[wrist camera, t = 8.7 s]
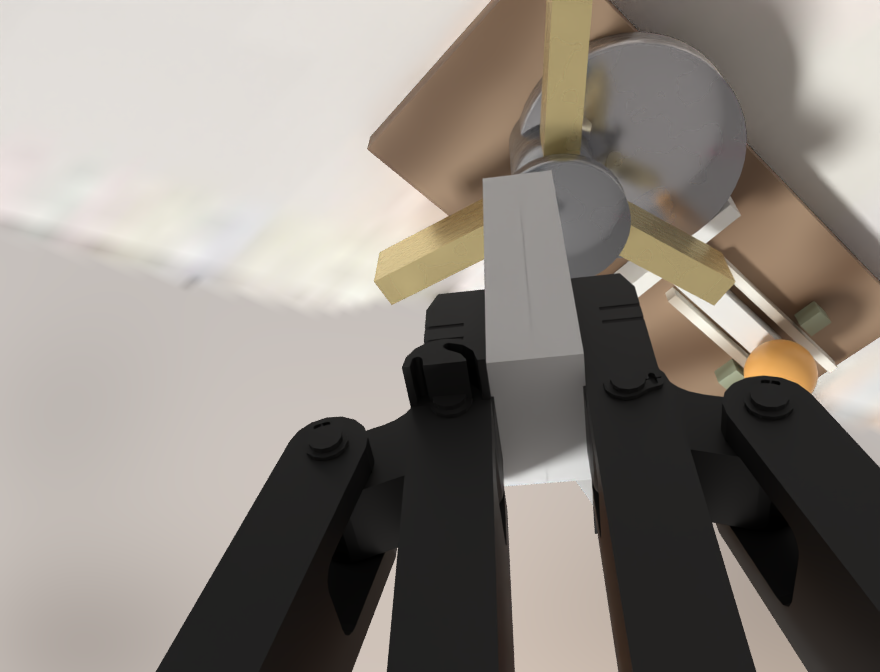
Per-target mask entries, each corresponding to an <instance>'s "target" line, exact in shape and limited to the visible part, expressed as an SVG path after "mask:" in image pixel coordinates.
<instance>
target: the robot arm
mask: <svg viewBox="0 0 880 672" xmlns="http://www.w3.org/2000/svg"><path fill="white" fill-rule="evenodd" d="M483 223H484V276H485V289H484V290H475V291H465V292H456V293H447V294H438V295H437V297H436V298H435V299H434V301H433V302H432V303H431V305H430V306H429V308H428V309H427V310H426V322H425V334H424V345H422V346H420V347H418V348H416V349H414V350H413V351H412V352H411V354H409V355H408V356H407V357H406V359H405V361H404V364H403V366H402V370H403V374H404V379H405V383H406V388H407V392H408V397H409V401H410V405H411V409H410V410H409V411H408V412H407V413H406V414H404V415H403V416H401V417H399V418H398V419H396V420H395V421H392V422H390V423H387V424H385V425H382V426H380V427H376V428H373V429H370V430H367V431H366V430H365V428H364V426H362V425H361V424H360V423H358V422H357V421H356V420H354V419H349V418H345V417H329V418H324V419H321V420H318V421H315V422H312V423H310V424H309V425H307V426H306V427H304V428H302V429H301V430H299V431H298V432H297V433H296V435H295V436H294V437H293V438H292V439H291V440H290V442H289V443H288V445H287V447H286V449H285V450H284V452H283V454H282V456H281V457H280V459H279V461H278V462H277V464H276V466H275V467H274V469H273V471H272V473H271V474H270V476H269V478H268V480H267V481H266V483H265V485H264V487H263V488H262V490H261V492H260V493H259V495H258V497H257V498H256V500H255V502H254V504H253V505H252V507H251V509H250V510H249V512H248V514H247V516H246V517H245V519H244V521H243V523H242V524H241V526H240V528H239V530H238V531H237V533H236V535H235V536H234V538H233V540H232V542H231V543H230V545H229V547H228V548H227V550H226V552H225V553H224V555H223V557H222V559H221V561H220V562H219V564H218V566H217V567H216V569H215V571H214V572H213V574H212V576H211V578H210V579H209V581H208V583H207V584H206V586H205V588H204V590H203V591H202V593H201V595H200V596H199V598H198V600H197V602H196V604H195V605H194V607H193V609H192V611H191V612H190V614H189V615H188V617H187V619H186V621H185V622H184V624H183V626H182V628H181V629H180V631H179V633H178V635H177V636H176V638H175V640H174V641H173V643H172V645H171V647H170V648H169V650H168V652H167V653H166V655H165V657H164V658H163V660H162V662H161V664H160V665H159V667H158V669H157V670H156V672H352V670H353V667H354V665H355V662H356V659H357V657H358V654H359V652H360V649H361V646H362V644H363V641H364V639H365V636H366V633H367V631H368V628H369V625H370V623H371V620H372V618H373V615H374V612H375V610H376V607H377V605H378V602H379V599H380V597H381V594H382V592H383V589H384V586H385V584H386V581H387V578H388V576H389V573H390V570H391V568H392V565H393V563H394V560H395V557H396V551H397V548H398V555H397V566H396V576H395V587H394V599H393V610H392V620H391V632H390V644H389V654H388V666H387V672H515V668H514V645H513V625H512V624H513V623H512V602H511V580H510V559H509V538H508V516H507V505H506V498H505V491H504V486H515V485H527V484H538V483H552V482H565V481H577V480H590V479H592V493H593V510H594V526H595V534H598V539H599V546H600V552H601V559H602V565H603V572H604V579H605V586H606V592H607V599H608V606H609V612H610V619H611V626H612V632H613V639H614V645H615V652H616V658H617V666H618V672H756V670H755V666H754V663H753V659H752V656H751V653H750V650H749V646H748V642H747V639H746V636H745V632H744V629H743V626H742V622H741V619H740V616H739V612H738V609H737V605H736V602H735V599H734V595H733V592H732V589H731V585H730V582H729V578H728V575H727V572H726V568H725V565H724V561H723V558H722V555H721V551H720V548H719V545H718V541H717V538H716V535H715V531H714V528H713V524H712V522H714V523H716V525H717V528H718V530H719V533H720V534H721V536H722V538H723V539H724V541H725V542H726V544H727V545H728V547H729V549H730V550H731V552H732V553H733V555H734V556H735V558H736V559H737V561H738V563H739V564H740V566H741V567H742V569H743V570H744V572H745V574H746V575H747V577H748V578H749V580H750V581H751V583H752V585H753V586H754V588H755V589H756V591H757V592H758V594H759V596H760V597H761V599H762V600H763V602H764V603H765V605H766V606H767V608H768V610H769V611H770V613H771V614H772V616H773V617H774V619H775V621H776V622H777V624H778V625H779V627H780V628H781V630H782V631H783V633H784V635H785V636H786V638H787V639H788V641H789V642H790V644H791V646H792V647H793V649H794V650H795V652H796V653H797V655H798V657H799V658H800V660H801V661H802V663H803V664H804V666H805V667H806V669H807V671H808V672H880V467H879V466H878V465H877V464H876V463H875V462H874V461H873V460H872V459H871V458H870V457H869V456H868V455H867V454H866V452H865V451H864V450H863V449H862V448H861V447H860V446H859V445H858V444H857V443H856V442H855V441H854V440H853V438H852V437H851V436H850V435H849V434H848V433H847V432H846V431H845V430H844V429H843V428H842V427H841V425H840V424H839V423H838V422H837V421H836V420H835V419H834V418H833V417H832V416H831V415H830V414H829V413H828V411H827V410H826V409H825V408H824V407H823V406H822V405H821V404H820V403H819V402H818V401H817V400H816V399H815V398H814V396H813V395H812V394H811V393H810V392H808V391H807V390H806V389H804V388H803V387H802V386H800V385H799V384H798V383H795V382H792V381H790V380H787V379H784V378H781V377H773V376H765V375H763V376H754V377H746V378H744V379H742V380H739V381H737V382H735V383H733V384H732V385H731V386H730V387H729V388H728V389H727V390H726V391H725V392H724V397H721V396H713V395H706V394H700V393H695V392H690V391H687V390H685V389H682V388H680V387H677V386H676V385H674V384H673V383H671V382H670V381H669V379H668V378H667V376H666V375H665V373H664V372H663V371H661V370H660V369H659V367H658V365H657V361H656V358H655V354H654V351H653V347H652V344H651V340H650V337H649V334H648V330H647V327H646V323H645V320H644V316H643V313H642V309H641V306H640V302H639V299H638V296H637V292H636V289H635V286H634V285H633V284H631V283H630V282H629V281H628V280H627V279H626V278H625V277H624V276H622V275H621V274H620V273H616V274H607V275H597V276H588V277H579V278H570V273H569V267H568V261H567V255H566V250H565V244H564V238H563V233H562V227H561V221H560V216H559V210H558V204H557V199H556V193H555V187H554V182H553V176H552V170H549V171H540V172H532V173H524V174H516V175H508V176H500V177H492V178H483Z"/></svg>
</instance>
